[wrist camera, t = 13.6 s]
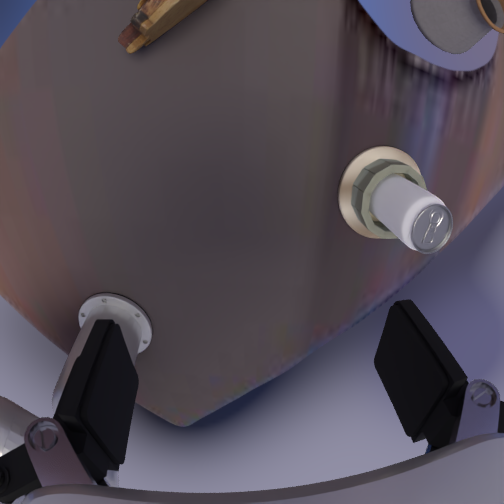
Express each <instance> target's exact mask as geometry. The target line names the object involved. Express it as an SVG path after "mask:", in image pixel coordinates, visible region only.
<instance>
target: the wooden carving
mask: <svg viewBox="0 0 504 504" xmlns="http://www.w3.org/2000/svg"><path fill="white" fill-rule="evenodd" d="M206 1H207V0H141V1H140V2H139V4H138V6H137V8H138V10H139V11H138V12H137V13H136V14H134V16H133V17H132V18H131V23H130V24H129V25H128V26H127V27H126V28H125V29H124V30H123V31H122V33H121V34H120V36H119V38H118V42H119V43H121V44H122V45H123V46H124V47H125V48H126V51H127V52H128V53H129V54H131V53H134V52H136V51H137V50H139V49H140V48H141V47H142V46H143V45H145V46H147V45H149V44H150V43H152V42H153V41H154V40H156V39H157V38H158V37H160V36H161V35H162V34H164V33H165V32H166V31H168V30H169V29H171V28H172V27H173V26H175V25H176V24H177V23H179V22H180V21H182V20H183V19H184V18H186V17H187V16H188V15H189V14H191V13H192V12H193V11H195V10H196V9H197V8H199V7H200V6H201V5H202V4H204V3H205V2H206Z"/></svg>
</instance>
